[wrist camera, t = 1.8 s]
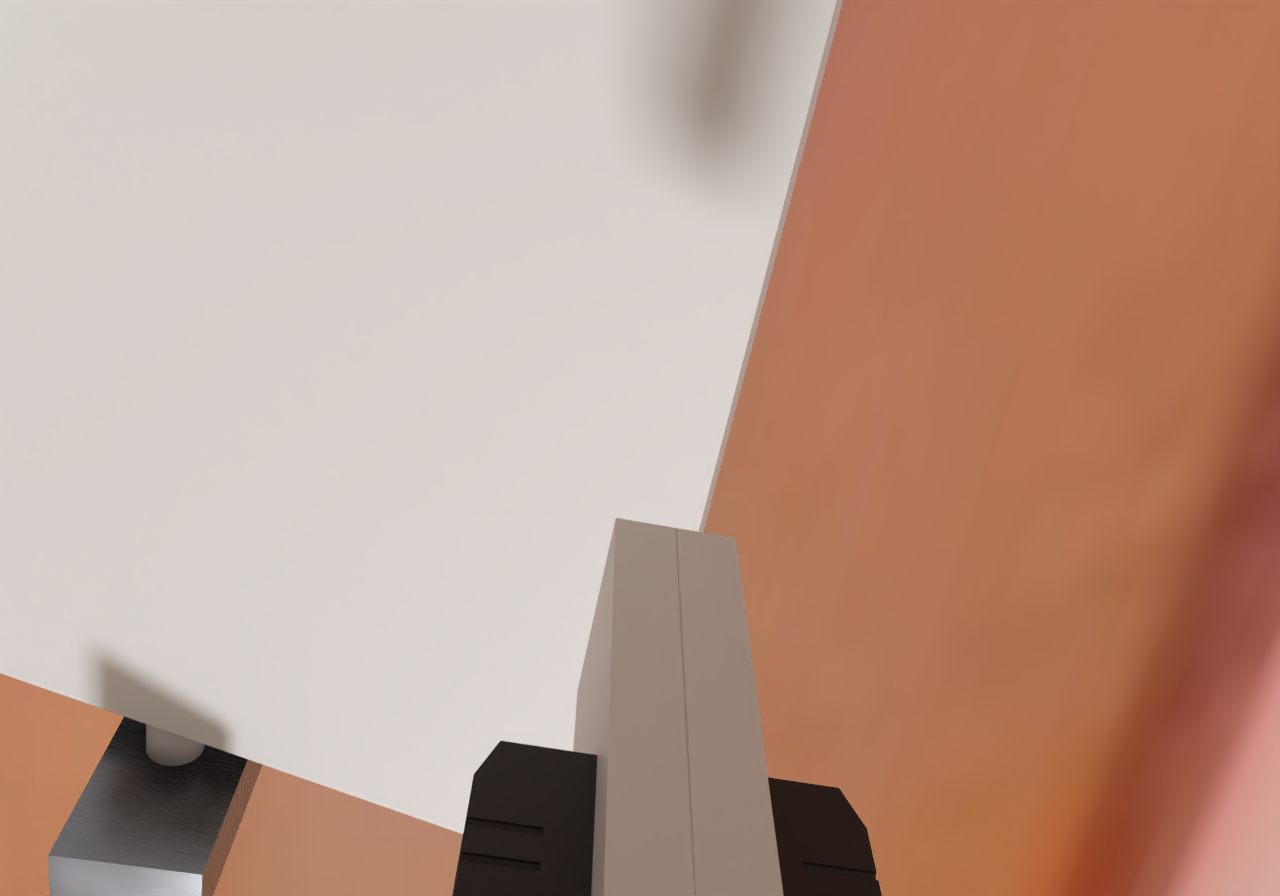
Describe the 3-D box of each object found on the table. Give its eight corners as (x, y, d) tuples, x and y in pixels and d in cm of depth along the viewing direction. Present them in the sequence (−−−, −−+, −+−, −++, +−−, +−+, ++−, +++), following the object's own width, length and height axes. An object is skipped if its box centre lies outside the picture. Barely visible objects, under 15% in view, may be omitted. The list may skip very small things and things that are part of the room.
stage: (-193, 596, 28) (-270, 643, 27) (-373, -583, 18) (-516, -632, 16) (612, 875, 26) (587, 948, 24) (926, -318, 16) (920, -343, 14)
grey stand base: (-157, 565, 32) (-449, 849, 24) (-325, -689, 20) (-1043, -1064, 12) (642, 684, 35) (649, 984, 26) (912, -382, 23) (1096, -502, 14)
